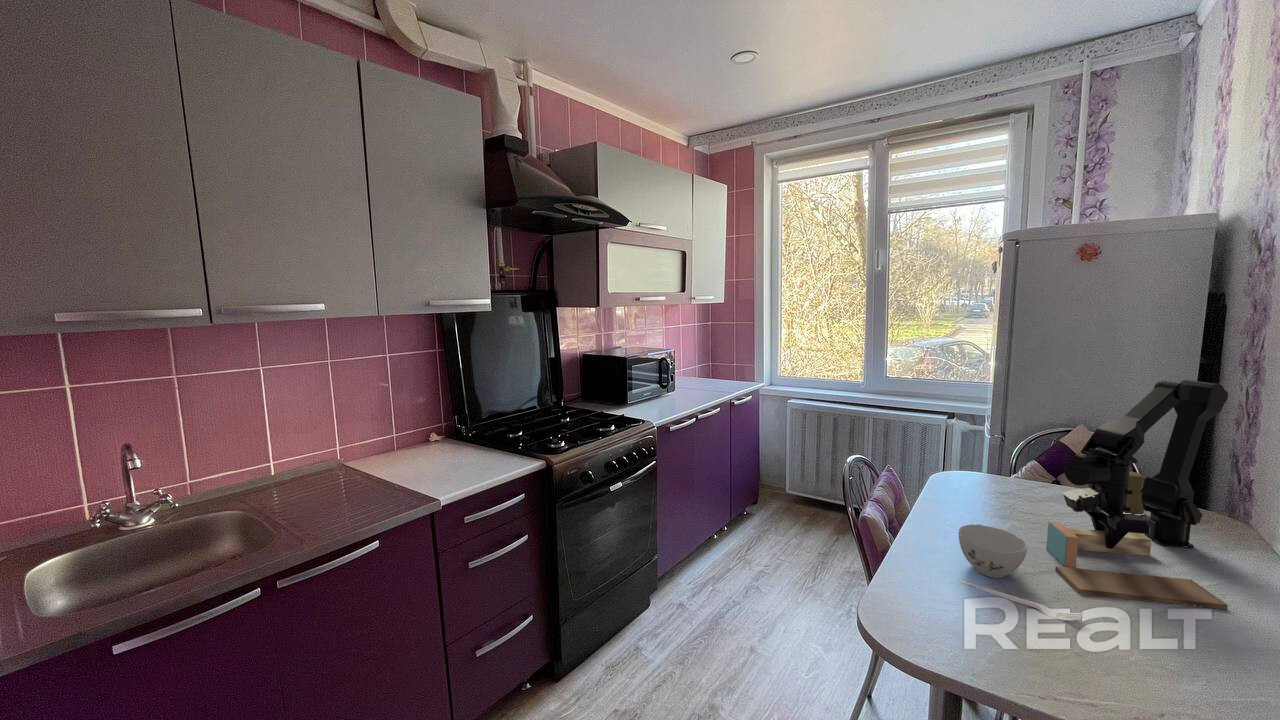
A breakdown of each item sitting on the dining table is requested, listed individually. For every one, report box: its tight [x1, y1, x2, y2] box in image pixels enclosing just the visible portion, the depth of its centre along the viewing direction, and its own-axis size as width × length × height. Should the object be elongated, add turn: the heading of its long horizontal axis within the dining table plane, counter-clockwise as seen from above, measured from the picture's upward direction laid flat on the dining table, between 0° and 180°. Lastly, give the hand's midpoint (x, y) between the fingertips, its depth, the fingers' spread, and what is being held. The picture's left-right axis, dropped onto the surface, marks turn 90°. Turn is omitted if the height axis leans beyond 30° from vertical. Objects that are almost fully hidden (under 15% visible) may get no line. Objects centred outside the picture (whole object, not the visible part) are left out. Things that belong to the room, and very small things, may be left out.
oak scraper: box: [1066, 527, 1152, 556], centre depth 121 cm, size 16×3×4 cm, turn 76°
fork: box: [959, 580, 1085, 622], centre depth 102 cm, size 3×20×2 cm, turn 43°
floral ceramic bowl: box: [958, 524, 1028, 579], centre depth 113 cm, size 15×12×8 cm
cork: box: [1123, 471, 1146, 514], centre depth 141 cm, size 6×6×11 cm
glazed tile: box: [1045, 521, 1079, 568], centre depth 117 cm, size 2×8×7 cm, turn 165°
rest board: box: [1054, 566, 1229, 611], centre depth 105 cm, size 24×9×1 cm, turn 75°
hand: (1104, 544), depth 121 cm, fingers closed on oak scraper, 3 cm apart
